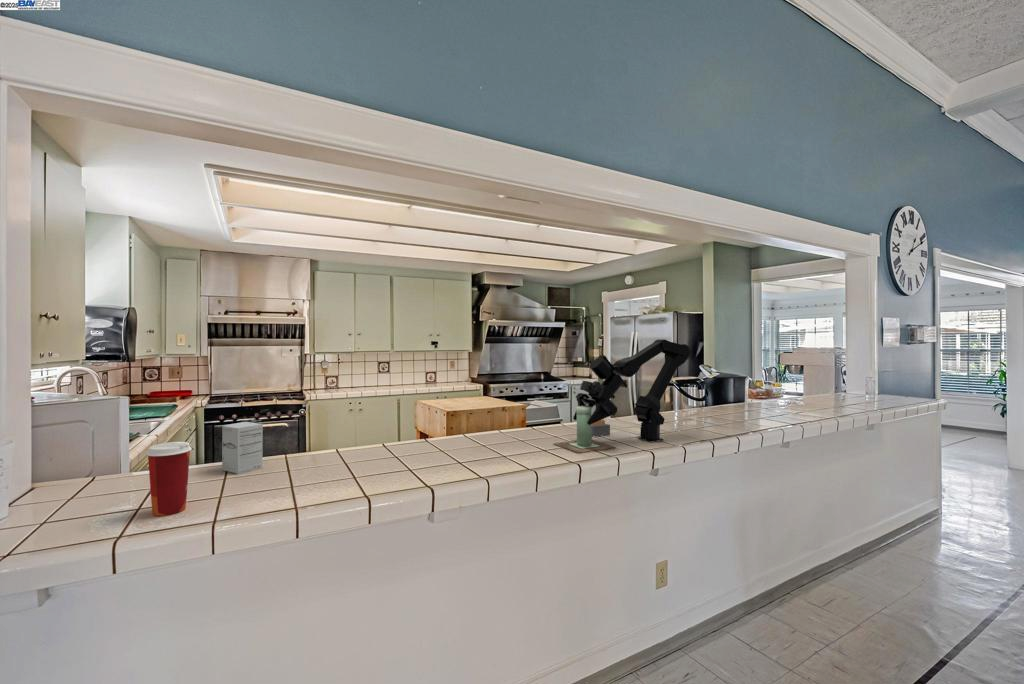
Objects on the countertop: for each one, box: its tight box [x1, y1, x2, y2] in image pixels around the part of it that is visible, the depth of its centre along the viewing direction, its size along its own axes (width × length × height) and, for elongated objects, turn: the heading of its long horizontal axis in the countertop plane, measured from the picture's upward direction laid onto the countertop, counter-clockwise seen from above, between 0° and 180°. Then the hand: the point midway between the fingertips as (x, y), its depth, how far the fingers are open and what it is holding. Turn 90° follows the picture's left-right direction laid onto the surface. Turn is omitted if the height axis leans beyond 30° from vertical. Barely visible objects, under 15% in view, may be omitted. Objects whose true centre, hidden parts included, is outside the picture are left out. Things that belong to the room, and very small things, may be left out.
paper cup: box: [145, 441, 193, 517], centre depth 95 cm, size 8×8×14 cm
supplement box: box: [221, 421, 264, 475], centre depth 125 cm, size 7×7×13 cm
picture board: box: [553, 439, 617, 454], centre depth 154 cm, size 16×14×1 cm
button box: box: [591, 423, 611, 437], centre depth 174 cm, size 8×8×4 cm
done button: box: [591, 418, 606, 426], centre depth 174 cm, size 5×5×2 cm
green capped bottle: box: [575, 405, 593, 446], centre depth 154 cm, size 5×5×13 cm
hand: (580, 421), depth 154 cm, fingers open, 9 cm apart
